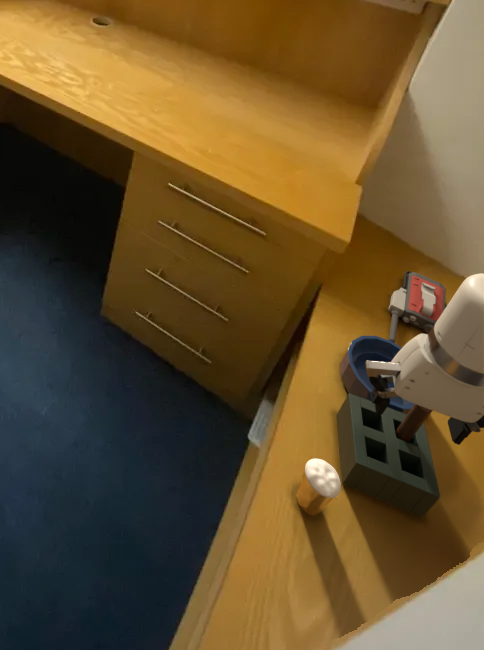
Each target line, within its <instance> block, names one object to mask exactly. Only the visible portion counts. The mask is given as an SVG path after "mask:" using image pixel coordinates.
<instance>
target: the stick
mask: <svg viewBox="0 0 484 650" xmlns="http://www.w3.org/2000/svg"><path fill="white" fill-rule="evenodd" d="M432 412H434V411H433V410H430V409H427V408H425V407H422V406H419V405H417V404H414V405H413V407H412V408H411V410H410V411H409V413H408V414H407V415H406V417H405V418H404V420H403V421H402V423H401V424H400V425H399V427H398V428H397V430H396V431H395V433H396V438H397V439H400V440H402V441H405V442H408V443H409V442H410V440H411V439H412V438H413V436H414V435H415V434H416V432H417V431H418V430H419V428H420V427H421V426H422V424H423V423H424V424H425V422H426V420H427V419H428V418H429V416H430V415H431V414H432Z"/></svg>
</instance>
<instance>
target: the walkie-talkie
mask: <svg viewBox="0 0 484 650" xmlns="http://www.w3.org/2000/svg"><path fill="white" fill-rule="evenodd" d="M403 276H404V277H403V282H402V286H401V287H400V288H399V289H397V290H394V291H393V293H392V294H391V296H390V301H389V306H388V312H390V313H391V321H390V328H389V334H388V335H389V336H388V340H390V341H392V342H393V343H395V344H396V342H397V340H396V339H397V334H398V333H397V331H398V323H399V318H401V320H403V322H404V323H406V324H407V323H409V324H411V325H413V326H415V327H418V328H420V329H422V330H423V331H424V332H425V334H429V333H430V331H431V329H432V328H433V326H434V325H435V323H436V322H437V320H438V319H439V317H440V316H441V314H442V313H443V311H444V310H445V308H446V296H447V293H446V292H447V291H446V290H447V289H446V287H445V286H444V284H442V283H441V282H439V281H437V280H434V279H432V278H430V277H428V276H425V275H423V274H421V273H418V272H415V271H410V270H406V271H405V272H404V274H403Z"/></svg>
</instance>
